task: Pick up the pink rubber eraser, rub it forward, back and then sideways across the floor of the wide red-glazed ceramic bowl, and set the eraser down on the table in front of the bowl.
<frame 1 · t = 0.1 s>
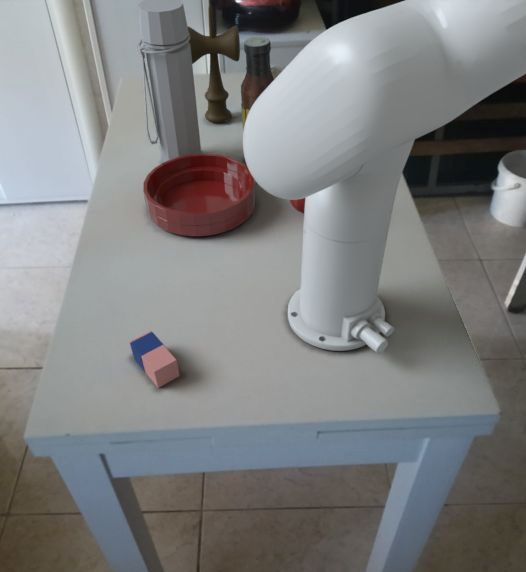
onion: (306, 214, 91), on the table
garlic bulb: (278, 112, 114), on the table
bowl: (201, 206, 92), on the table
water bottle: (177, 163, 101), on the table
eraser: (156, 366, 69), on the table
kendama: (218, 119, 112), on the table
sauce bottle: (261, 162, 101), on the table
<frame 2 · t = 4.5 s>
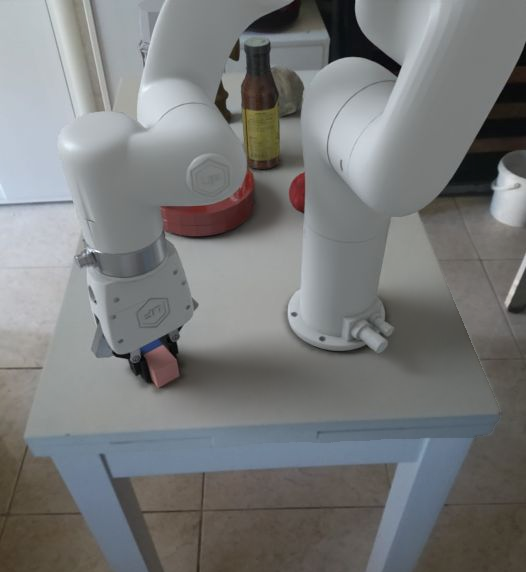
hand: (156, 365, 69), 0 cm above the table, tool pointing down, fingers closed on eraser, 3 cm apart
eraser: (156, 366, 69), on the table, touching gripper
everything else where it was.
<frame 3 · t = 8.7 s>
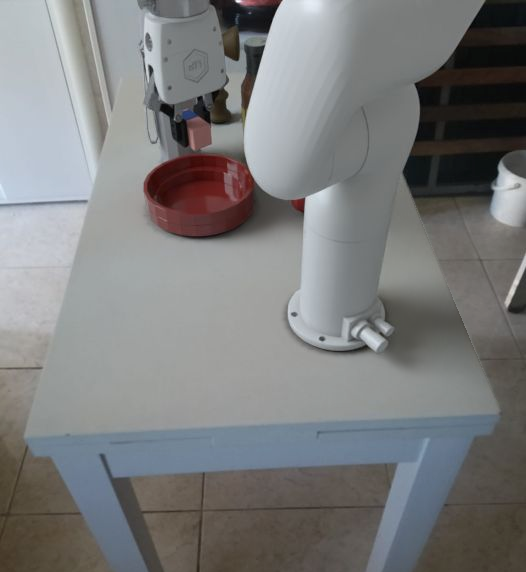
hand: (192, 138, 83), 12 cm above the table, tool pointing down, fingers closed on eraser, 3 cm apart
eraser: (192, 139, 84), point 11 cm above the table, touching gripper
everything else where it was.
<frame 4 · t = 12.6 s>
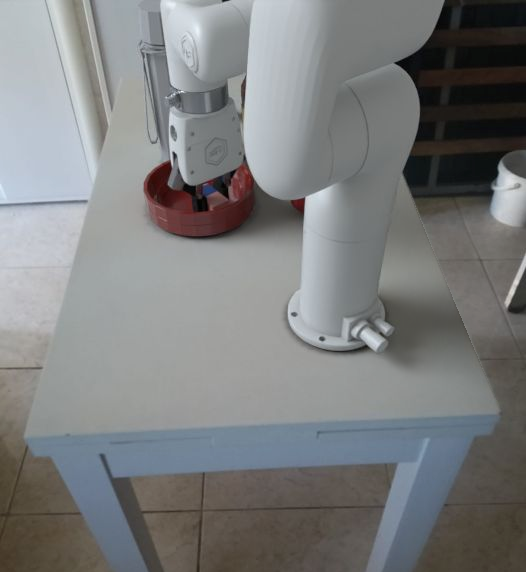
hand: (211, 210, 90), 1 cm above the table, tool pointing down, fingers closed on eraser, 3 cm apart
eraser: (211, 211, 90), point 1 cm above the table, touching gripper
everything else where it was.
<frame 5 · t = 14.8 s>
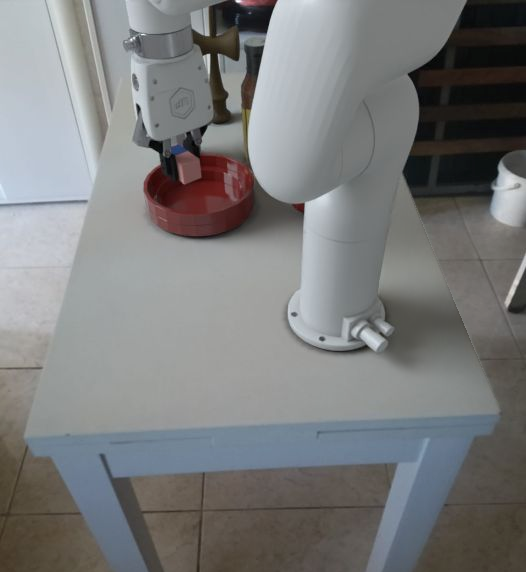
hand: (182, 171, 85), 8 cm above the table, tool pointing down, fingers closed on eraser, 3 cm apart
eraser: (182, 173, 85), point 7 cm above the table, touching gripper
everything else where it was.
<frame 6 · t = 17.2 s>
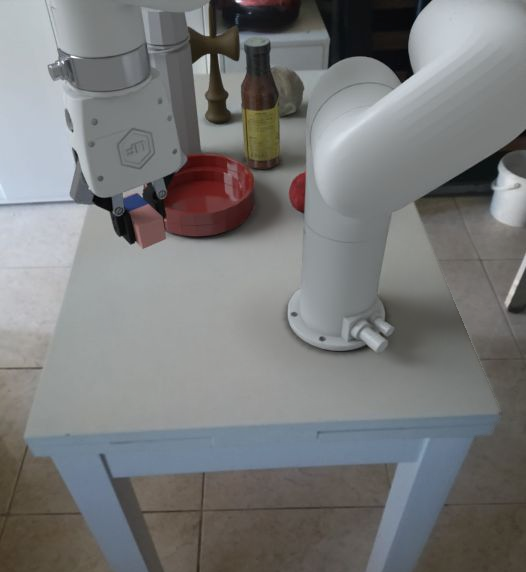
hand: (142, 230, 65), 14 cm above the table, tool pointing down, fingers closed on eraser, 3 cm apart
eraser: (141, 231, 65), point 14 cm above the table, touching gripper
everything else where it was.
when the fingers open (0 cm above the table, at t = 20.9 s): eraser stays where it is, on the table.
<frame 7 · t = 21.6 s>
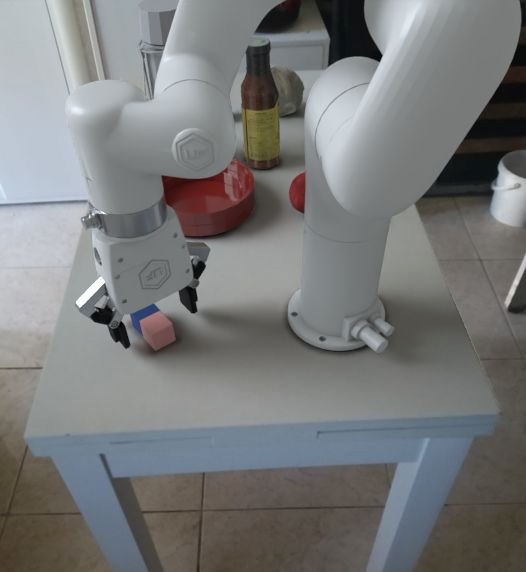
hand: (156, 324, 72), 2 cm above the table, tool pointing down, fingers open, 9 cm apart
eraser: (153, 332, 73), on the table
everything else where it was.
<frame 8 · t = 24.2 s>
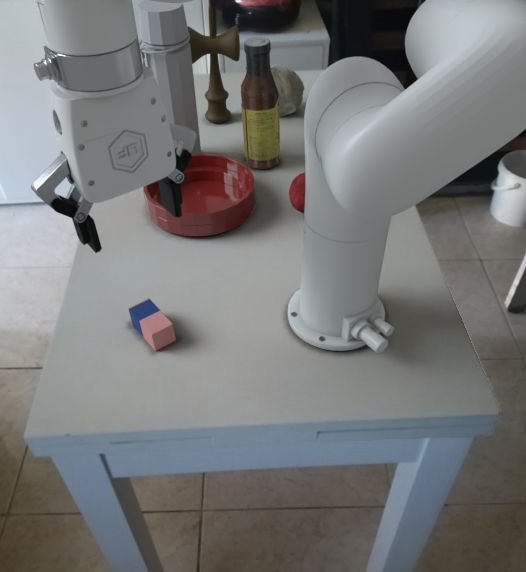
hand: (133, 228, 61), 16 cm above the table, tool pointing down, fingers open, 9 cm apart
nothing on the table moved.
at the end: eraser 0.4 cm from the target spot on the table beside the bowl, on the table; the gripper is holding nothing; eraser tilted 0° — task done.
